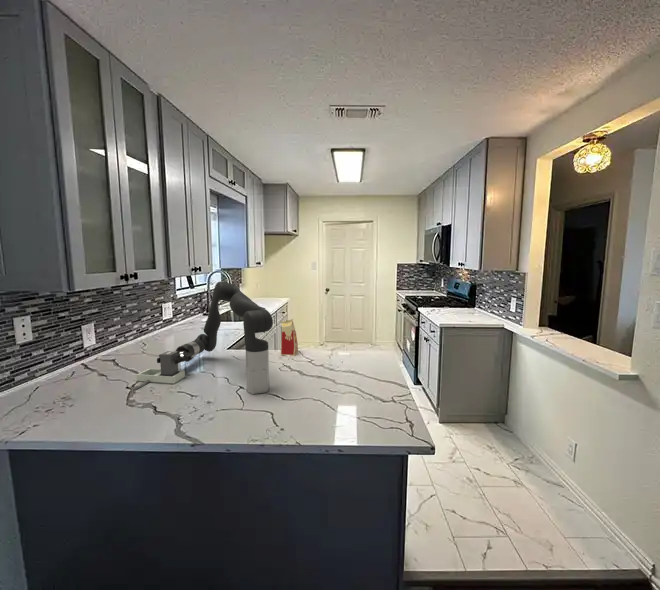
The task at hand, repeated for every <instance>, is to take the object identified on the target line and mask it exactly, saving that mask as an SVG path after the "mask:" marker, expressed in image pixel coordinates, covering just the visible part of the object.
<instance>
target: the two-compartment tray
mask: <svg viewBox="0 0 660 590" xmlns="http://www.w3.org/2000/svg"><path fill="white" fill-rule="evenodd" d="M178 372H179V373H178V374H176V375H174V376H172V377H171V376H161V368H160V369H159V368H147V369H145V370H143V371H141V372H139V373H137V374H136V375H135V376H136V382H139V383H140V384H137V385H136V386H135V387H133V388H132V390H133V391H136V390H138V389H140V388H142V387H143V386H146V385H147V384H150V383H151V384H165V385H166V384H167V385H175V384H177V383H178V382H180V381H182V380H183V379H185V378H186V376H185V375H186V373H185V370H178Z"/></svg>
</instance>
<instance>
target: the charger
mask: <svg viewBox="0 0 660 590" xmlns="http://www.w3.org/2000/svg"><path fill="white" fill-rule="evenodd" d="M159 355H160V363H159V364H160V369H161V376H171V377H172V376H174V375H176V374H178V373H179V372H178V371H179V363H178V364H175V359H177V358H178V353H177V352H174V351H168V350H167V351H165V352H163V353H160V354H159Z"/></svg>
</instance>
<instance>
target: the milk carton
mask: <svg viewBox="0 0 660 590" xmlns="http://www.w3.org/2000/svg"><path fill="white" fill-rule="evenodd" d="M280 324H281V342H280V343H281V345H280V347H281V348H280V356H281V355H291V356H290V357H295V356H296V355H297V354H298V353H299V344H298V337H297V331H296V328H295V324H294V318H292V319H288V320H284V321H280Z"/></svg>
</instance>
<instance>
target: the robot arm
mask: <svg viewBox="0 0 660 590" xmlns="http://www.w3.org/2000/svg"><path fill="white" fill-rule="evenodd" d="M212 292H213V293H212V297H211V301H210V306H209V311H208V316H207V317H206V318H207V319H206V321H205V324H204V326H203V333H201V334H199V335H197V337H196V338H195V339H194V340H192V341H189V342H187V343H185V344H182V345H180V346H178V347H177V348H176V350H174V351H173V352H177V353H178V358H177V359H175V364H178V365H179V364H180V363H185V362H186V363H188V362H190V361H191V360H193V359H194V358H195V357H196V356H197V355H199V354H201V353H203V352H204V351H206V352H209V353H210V352H212V351H214V350H215V348H216V346H217V342H218V341H217V340H218V331H219V329H220V327H221V324H222V323H221V322H222V317H221V314H220V313H221V312H220V310H219V302H220V301H224V302H228V303H229V307H230V309H231V311H232V312H233V313H234V314H235V315H236V316H238V317H240V318H242V320H243V323H242V326H243V334H244V337H243V338H244V347H245V349H244V350H245V378H246V379H245V380H246V384H245V385H246V392H247V393H249V394H251V395H257V394H262V393H268V391H269V390H270V367H269V366H270V362H269V361H270V358H269V357H270V356H269V352H270V351H269V342H268V341H267V340H265V339H261V338H258V337H256V334H258V333H267V332H268V331H270V330H271V329H272V328H273V325H274V321H273V317H272V314H271V313H270V311H268V309H266V308H264V307H262V306H260V305H258V304H257V303H255V302H254V301H253V300H252V299H251V298H250V297H248V296H247V295H246V294H244V293H243V292H242V291H241V289H240V288H239V286H238V285H236V284H234V283H230V282H225V281H218V282H217V283H216V284H215V286H214V288H213V291H212ZM156 363H157V364H160V354H159V355H158V357H157V358H156Z"/></svg>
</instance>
